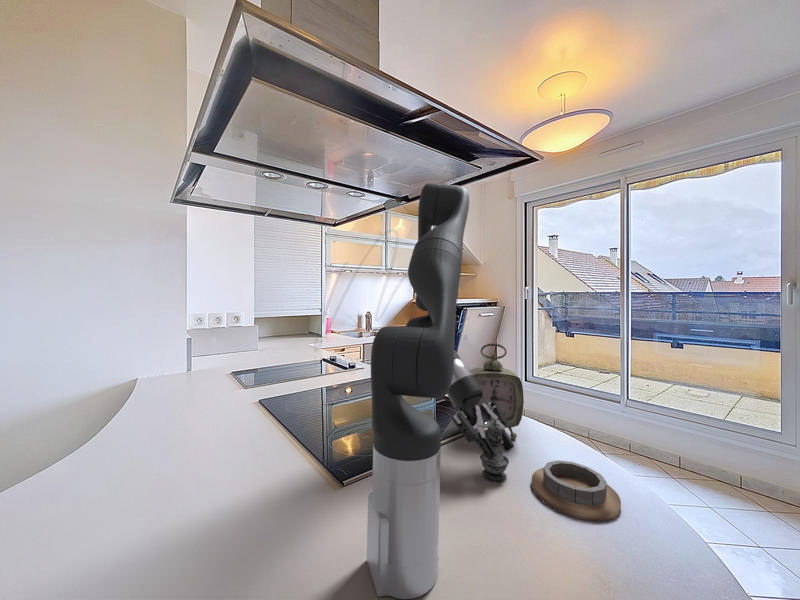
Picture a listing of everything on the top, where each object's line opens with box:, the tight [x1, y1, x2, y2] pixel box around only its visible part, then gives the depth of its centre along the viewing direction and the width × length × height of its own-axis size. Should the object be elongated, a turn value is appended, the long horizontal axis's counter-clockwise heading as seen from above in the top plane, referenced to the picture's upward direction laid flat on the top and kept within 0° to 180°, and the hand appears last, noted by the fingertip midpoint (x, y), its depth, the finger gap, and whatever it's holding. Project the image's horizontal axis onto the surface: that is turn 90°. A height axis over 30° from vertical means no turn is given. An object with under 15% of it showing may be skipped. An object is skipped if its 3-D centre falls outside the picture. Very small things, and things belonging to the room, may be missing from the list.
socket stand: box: [531, 460, 622, 522], centre depth 62 cm, size 15×15×4 cm
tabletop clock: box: [469, 343, 525, 440], centre depth 88 cm, size 14×9×25 cm, turn 83°
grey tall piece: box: [479, 419, 510, 484], centre depth 67 cm, size 6×6×12 cm
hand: (501, 453), depth 66 cm, fingers open, 5 cm apart
